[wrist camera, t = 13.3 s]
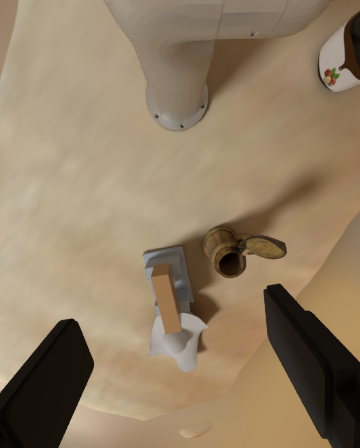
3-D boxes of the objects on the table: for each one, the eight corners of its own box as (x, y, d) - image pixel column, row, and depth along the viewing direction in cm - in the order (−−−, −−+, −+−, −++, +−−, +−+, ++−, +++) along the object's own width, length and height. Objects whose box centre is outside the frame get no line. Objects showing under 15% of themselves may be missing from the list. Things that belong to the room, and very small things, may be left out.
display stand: (143, 252, 47) (138, 263, 42) (182, 245, 47) (182, 255, 41) (157, 305, 51) (154, 322, 46) (193, 299, 51) (195, 315, 45)
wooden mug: (258, 228, 46) (306, 262, 28) (220, 266, 48) (242, 318, 31) (232, 205, 44) (266, 225, 27) (194, 246, 47) (203, 288, 30)
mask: (142, 348, 55) (189, 355, 58) (139, 375, 48) (193, 382, 51) (161, 293, 50) (212, 303, 53) (161, 314, 43) (219, 325, 45)
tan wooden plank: (153, 265, 42) (149, 277, 37) (169, 262, 41) (167, 274, 37) (166, 317, 45) (164, 334, 40) (181, 314, 45) (181, 331, 40)
